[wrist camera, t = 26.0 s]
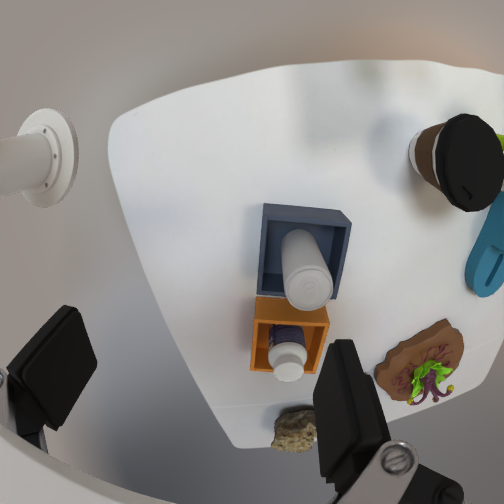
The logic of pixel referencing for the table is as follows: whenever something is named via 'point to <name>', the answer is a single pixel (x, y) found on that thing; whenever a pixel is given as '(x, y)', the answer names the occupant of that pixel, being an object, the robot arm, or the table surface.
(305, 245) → the beverage can
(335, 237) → the slate bin
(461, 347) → the plant
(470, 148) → the coffee cup
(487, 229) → the camera mount
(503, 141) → the mushroom
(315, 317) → the amber bin
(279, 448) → the mineral specimen
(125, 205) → the table surface
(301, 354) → the pill bottle
